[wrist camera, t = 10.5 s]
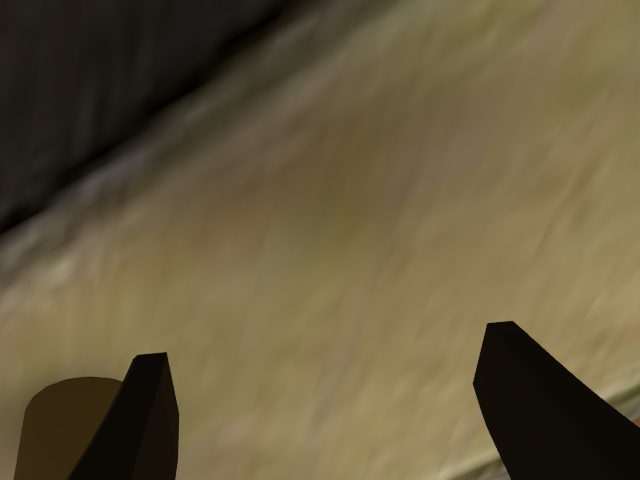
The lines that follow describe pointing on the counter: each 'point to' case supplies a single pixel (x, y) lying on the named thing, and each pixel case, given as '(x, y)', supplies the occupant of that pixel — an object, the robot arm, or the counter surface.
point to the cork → (62, 426)
